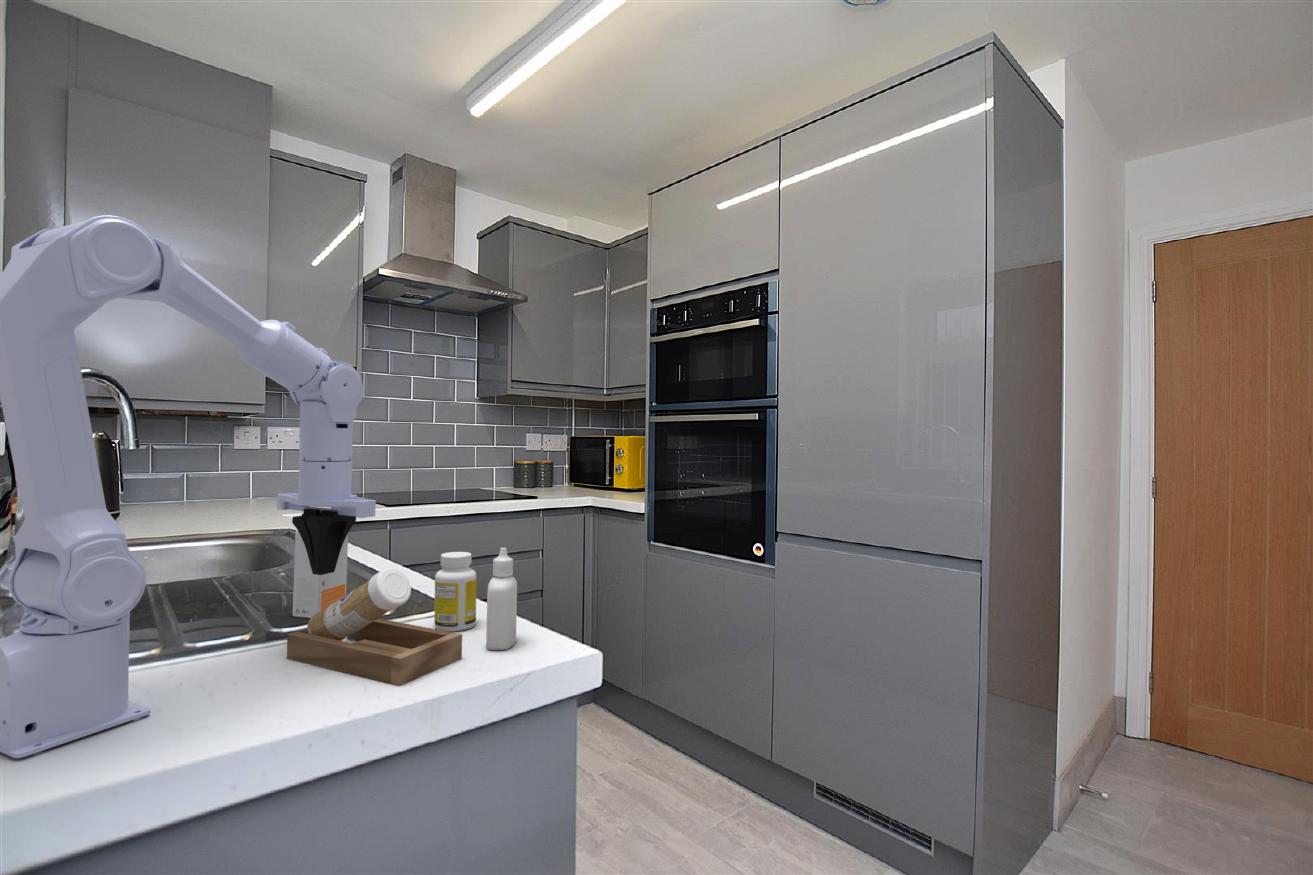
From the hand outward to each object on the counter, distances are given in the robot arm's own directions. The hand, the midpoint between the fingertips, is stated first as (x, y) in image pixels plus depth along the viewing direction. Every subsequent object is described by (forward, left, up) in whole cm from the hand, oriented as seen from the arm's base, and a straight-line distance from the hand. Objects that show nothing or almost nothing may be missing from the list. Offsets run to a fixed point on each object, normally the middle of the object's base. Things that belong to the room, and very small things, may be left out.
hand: (323, 573), depth 79 cm
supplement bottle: (+14, -8, -9) cm, 19 cm away
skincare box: (+10, +13, -9) cm, 19 cm away
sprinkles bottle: (0, 0, -7) cm, 7 cm away
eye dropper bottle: (+11, -18, -9) cm, 23 cm away
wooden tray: (0, -8, -9) cm, 12 cm away
